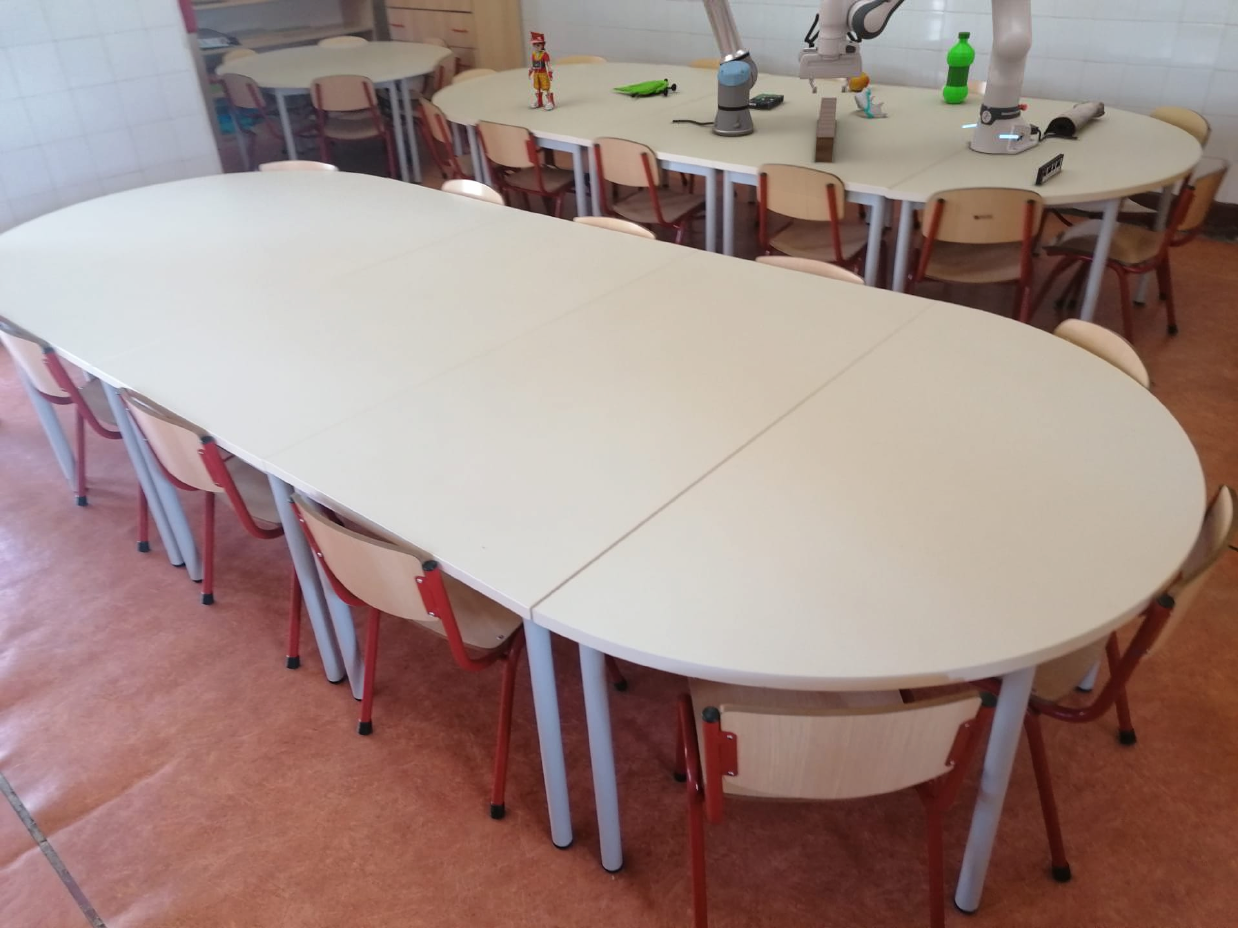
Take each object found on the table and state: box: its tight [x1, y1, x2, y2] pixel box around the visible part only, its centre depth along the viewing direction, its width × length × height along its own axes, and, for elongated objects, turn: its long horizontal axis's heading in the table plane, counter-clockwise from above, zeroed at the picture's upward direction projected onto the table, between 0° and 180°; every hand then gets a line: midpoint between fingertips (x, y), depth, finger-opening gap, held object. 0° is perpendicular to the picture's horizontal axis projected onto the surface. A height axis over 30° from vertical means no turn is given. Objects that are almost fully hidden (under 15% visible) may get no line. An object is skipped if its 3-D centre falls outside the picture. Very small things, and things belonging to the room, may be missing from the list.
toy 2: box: [612, 78, 677, 99], centre depth 396 cm, size 28×5×30 cm
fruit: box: [847, 71, 870, 92], centre depth 377 cm, size 8×8×8 cm
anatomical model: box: [853, 87, 888, 119], centre depth 345 cm, size 15×10×10 cm
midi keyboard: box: [1035, 153, 1065, 186], centre depth 273 cm, size 18×1×5 cm, turn 138°
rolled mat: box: [1043, 100, 1106, 137], centre depth 316 cm, size 30×9×10 cm
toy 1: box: [527, 31, 556, 111], centre depth 374 cm, size 12×9×30 cm
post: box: [814, 97, 838, 163], centre depth 319 cm, size 54×6×8 cm, turn 168°
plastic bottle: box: [942, 31, 976, 104], centre depth 348 cm, size 10×10×25 cm
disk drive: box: [749, 93, 785, 110], centre depth 365 cm, size 10×3×15 cm
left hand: (830, 63), depth 326 cm, fingers open, 13 cm apart
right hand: (829, 92), depth 292 cm, fingers open, 8 cm apart
